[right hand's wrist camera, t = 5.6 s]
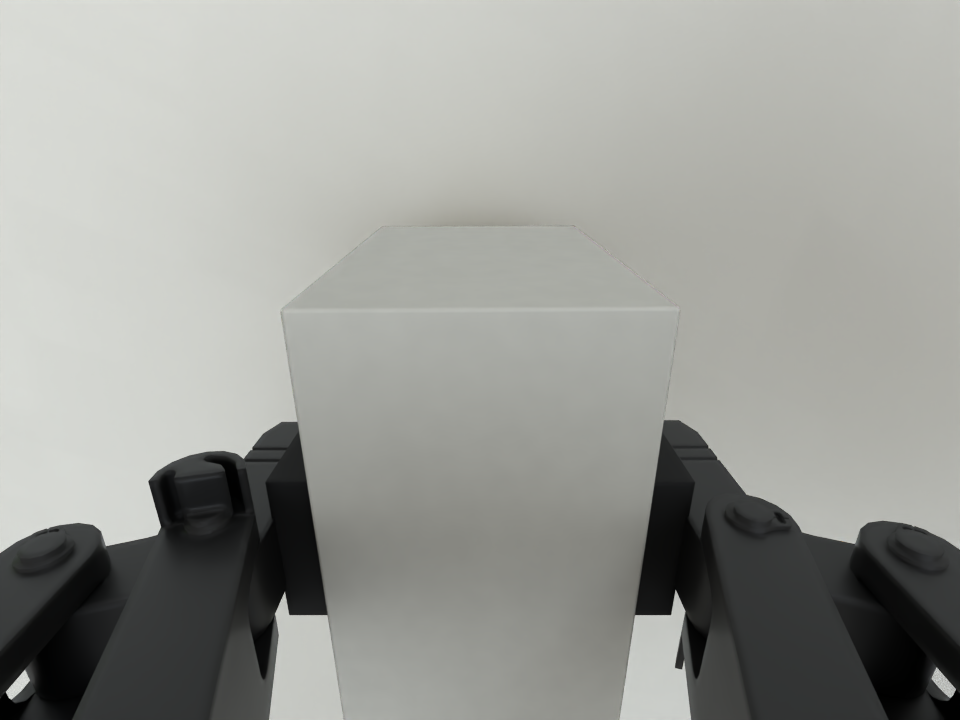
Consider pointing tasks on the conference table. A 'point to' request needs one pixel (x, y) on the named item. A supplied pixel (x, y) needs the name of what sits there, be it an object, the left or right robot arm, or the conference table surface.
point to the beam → (480, 467)
